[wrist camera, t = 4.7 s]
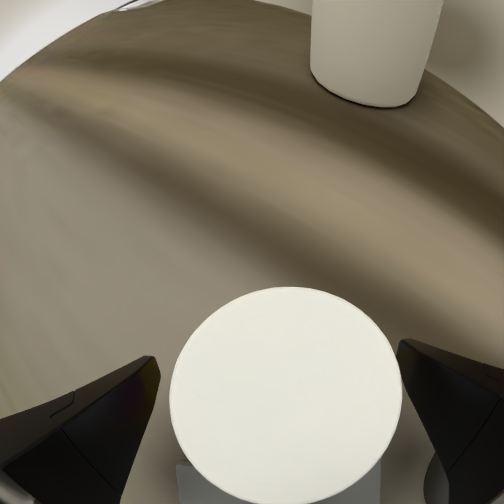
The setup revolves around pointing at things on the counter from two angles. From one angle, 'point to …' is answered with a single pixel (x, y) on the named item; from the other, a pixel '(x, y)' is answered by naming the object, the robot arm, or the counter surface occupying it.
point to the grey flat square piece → (216, 500)
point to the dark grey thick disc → (436, 483)
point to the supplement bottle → (285, 396)
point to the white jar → (372, 47)
